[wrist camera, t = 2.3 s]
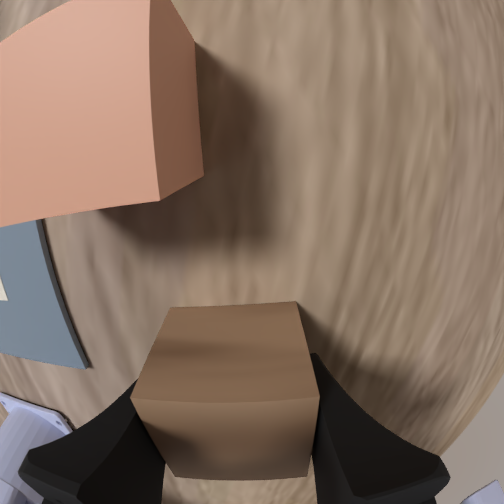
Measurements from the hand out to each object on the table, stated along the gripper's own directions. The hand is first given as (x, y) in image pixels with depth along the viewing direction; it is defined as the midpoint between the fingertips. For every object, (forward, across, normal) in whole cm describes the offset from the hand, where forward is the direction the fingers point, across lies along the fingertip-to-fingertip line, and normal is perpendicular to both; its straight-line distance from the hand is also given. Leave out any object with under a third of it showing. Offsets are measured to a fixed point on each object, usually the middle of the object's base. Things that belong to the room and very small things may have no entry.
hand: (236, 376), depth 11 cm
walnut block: (+1, 0, 0) cm, 1 cm away
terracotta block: (+2, +3, -10) cm, 11 cm away
